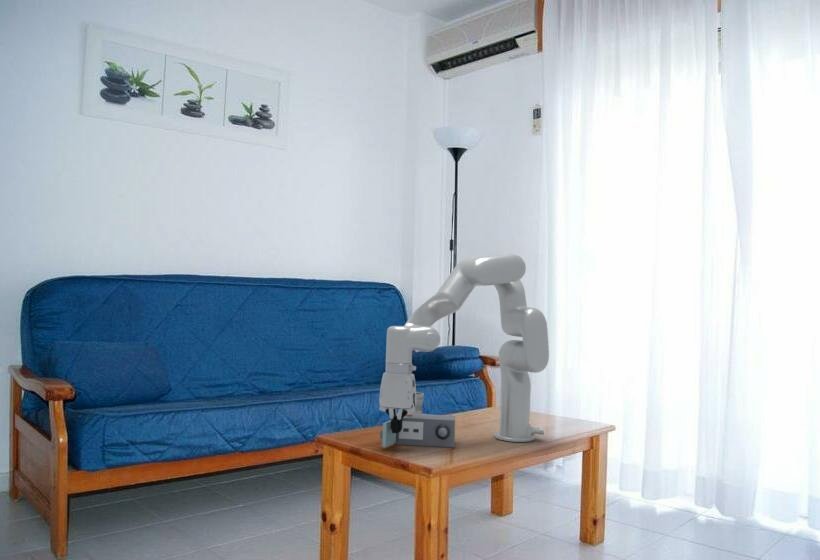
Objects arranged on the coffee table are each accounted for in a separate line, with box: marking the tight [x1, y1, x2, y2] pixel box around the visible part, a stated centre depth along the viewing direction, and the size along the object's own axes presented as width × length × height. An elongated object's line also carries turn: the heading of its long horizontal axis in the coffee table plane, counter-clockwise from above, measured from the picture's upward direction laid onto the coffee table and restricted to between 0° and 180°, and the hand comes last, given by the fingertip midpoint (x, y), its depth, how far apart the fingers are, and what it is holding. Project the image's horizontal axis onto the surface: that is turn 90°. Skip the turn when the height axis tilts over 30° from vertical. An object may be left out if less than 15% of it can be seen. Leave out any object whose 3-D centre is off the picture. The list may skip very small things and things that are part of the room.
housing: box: [393, 412, 456, 448], centre depth 196 cm, size 18×9×9 cm, turn 85°
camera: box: [412, 391, 425, 414], centre depth 217 cm, size 9×12×15 cm
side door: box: [379, 419, 396, 448], centre depth 188 cm, size 8×2×7 cm, turn 159°
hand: (396, 432), depth 186 cm, fingers closed
